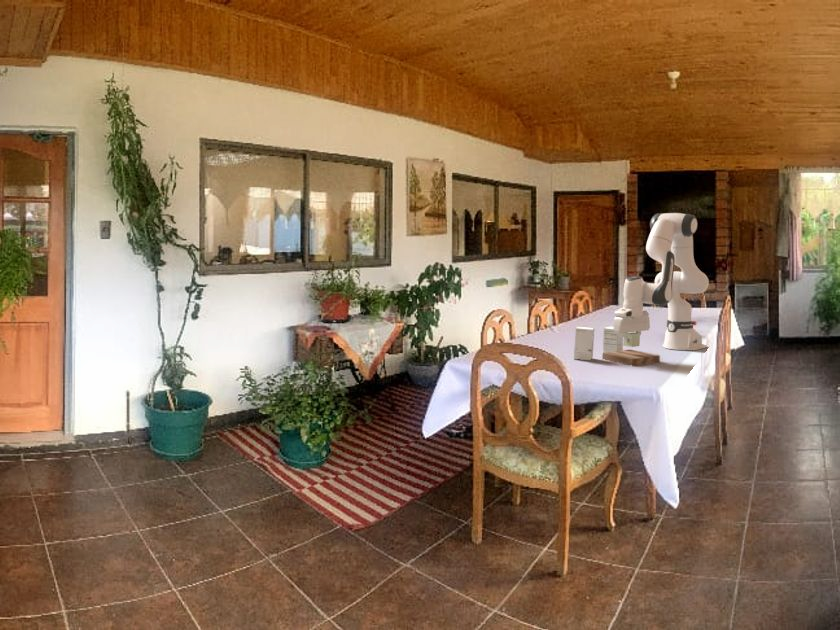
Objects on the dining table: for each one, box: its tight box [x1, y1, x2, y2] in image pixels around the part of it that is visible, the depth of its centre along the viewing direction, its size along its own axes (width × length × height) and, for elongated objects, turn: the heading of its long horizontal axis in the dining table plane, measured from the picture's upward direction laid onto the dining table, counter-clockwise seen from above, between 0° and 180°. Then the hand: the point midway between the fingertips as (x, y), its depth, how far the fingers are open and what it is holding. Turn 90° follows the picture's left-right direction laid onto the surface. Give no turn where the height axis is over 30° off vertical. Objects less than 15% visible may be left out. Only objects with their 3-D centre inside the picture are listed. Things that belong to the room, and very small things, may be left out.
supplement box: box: [602, 325, 624, 354], centre depth 346 cm, size 7×7×13 cm
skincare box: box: [573, 326, 596, 361], centre depth 331 cm, size 8×6×15 cm
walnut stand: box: [602, 349, 661, 367], centre depth 328 cm, size 18×18×3 cm
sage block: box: [623, 332, 641, 348], centre depth 326 cm, size 5×5×6 cm
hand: (631, 341), depth 327 cm, fingers closed on sage block, 5 cm apart
